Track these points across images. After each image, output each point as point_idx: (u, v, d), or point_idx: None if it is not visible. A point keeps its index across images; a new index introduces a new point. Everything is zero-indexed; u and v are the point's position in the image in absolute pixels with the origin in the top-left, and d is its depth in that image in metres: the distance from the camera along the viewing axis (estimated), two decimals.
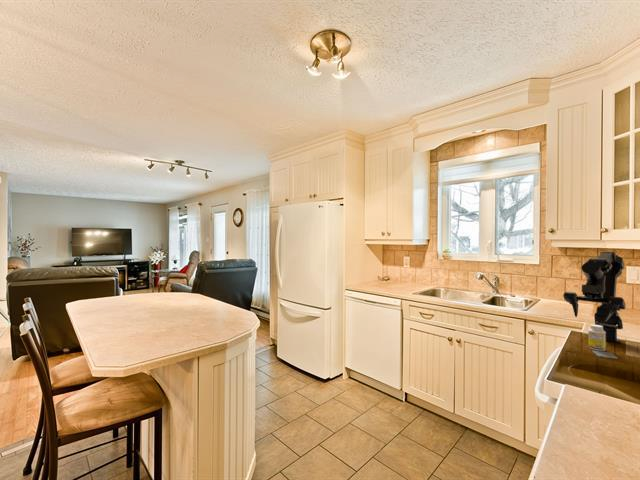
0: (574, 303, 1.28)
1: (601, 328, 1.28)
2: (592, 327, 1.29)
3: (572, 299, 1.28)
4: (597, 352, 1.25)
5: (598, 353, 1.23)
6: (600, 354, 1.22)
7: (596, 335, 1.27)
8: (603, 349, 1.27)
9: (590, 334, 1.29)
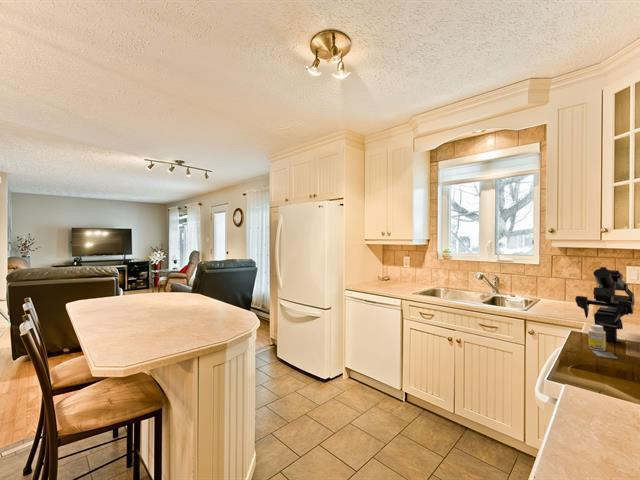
0: (585, 305, 1.38)
1: (601, 328, 1.28)
2: (592, 327, 1.29)
3: (583, 302, 1.39)
4: (597, 352, 1.25)
5: (598, 353, 1.23)
6: (600, 354, 1.22)
7: (596, 335, 1.27)
8: (603, 349, 1.27)
9: (590, 334, 1.29)
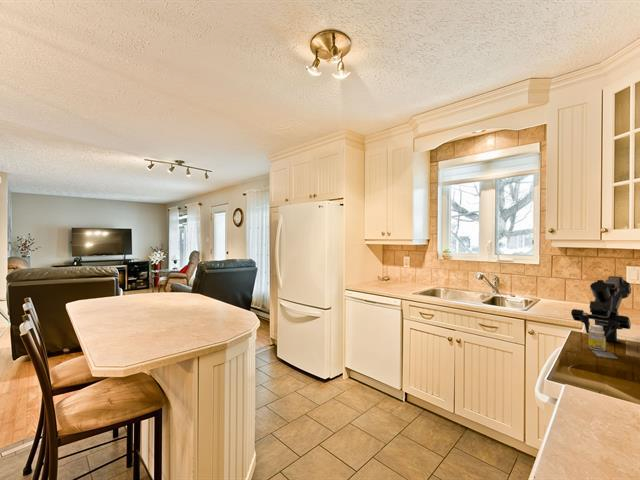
0: (586, 320, 1.33)
1: (601, 328, 1.28)
2: (592, 327, 1.29)
3: (584, 316, 1.34)
4: (597, 352, 1.25)
5: (598, 353, 1.23)
6: (600, 354, 1.22)
7: (596, 335, 1.27)
8: (603, 349, 1.27)
9: (590, 334, 1.29)
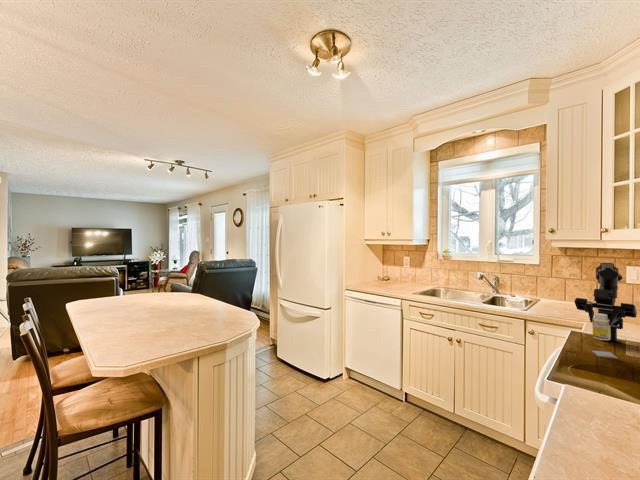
0: (590, 309, 1.28)
1: (606, 316, 1.23)
2: (596, 316, 1.24)
3: (588, 305, 1.29)
4: (597, 352, 1.25)
5: (598, 353, 1.23)
6: (600, 354, 1.22)
7: (600, 324, 1.23)
8: (608, 338, 1.22)
9: (594, 323, 1.25)
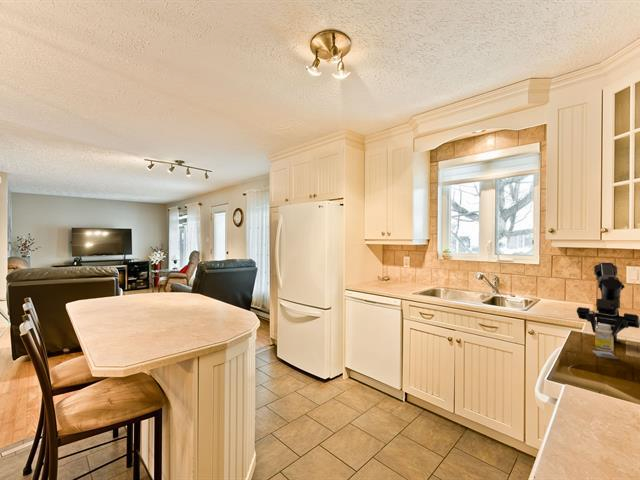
0: (592, 319, 1.27)
1: (609, 327, 1.21)
2: (599, 326, 1.23)
3: (591, 314, 1.27)
4: (597, 352, 1.25)
5: (598, 353, 1.23)
6: (600, 354, 1.22)
7: (603, 334, 1.21)
8: (611, 349, 1.20)
9: (597, 333, 1.23)
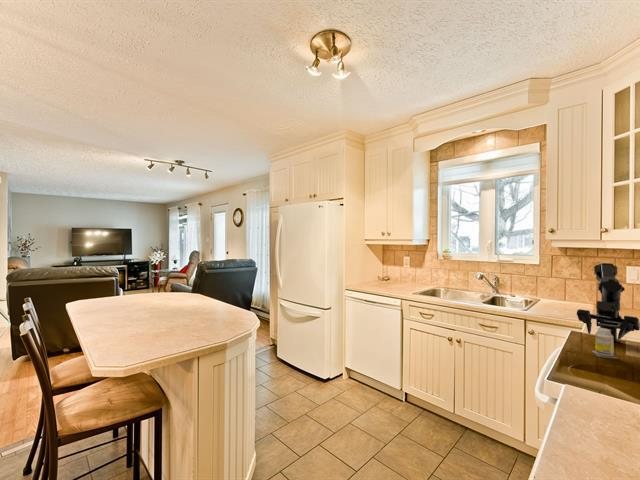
0: (588, 320, 1.28)
1: (609, 332, 1.21)
2: (599, 331, 1.23)
3: (586, 316, 1.28)
4: None
5: None
6: (600, 354, 1.22)
7: (604, 339, 1.21)
8: (611, 354, 1.20)
9: (597, 338, 1.23)
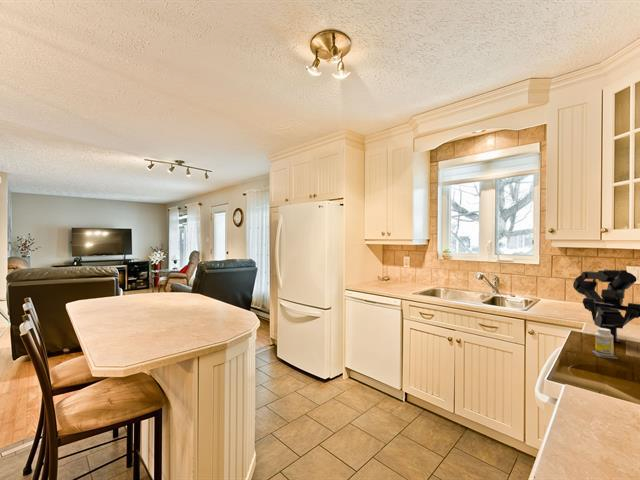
0: (593, 308, 1.33)
1: (609, 332, 1.21)
2: (599, 331, 1.23)
3: (591, 304, 1.34)
4: None
5: None
6: (600, 354, 1.22)
7: (603, 339, 1.21)
8: (611, 354, 1.20)
9: (597, 338, 1.23)
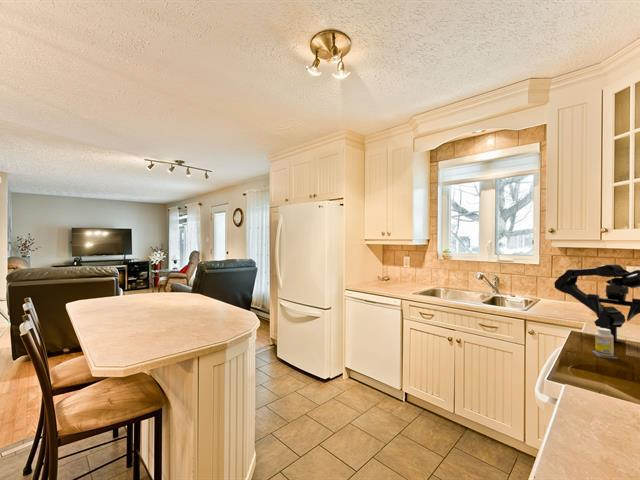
0: (597, 304, 1.34)
1: (609, 332, 1.21)
2: (599, 331, 1.23)
3: (595, 300, 1.35)
4: None
5: None
6: (600, 354, 1.22)
7: (604, 339, 1.21)
8: (611, 354, 1.20)
9: (597, 338, 1.23)
